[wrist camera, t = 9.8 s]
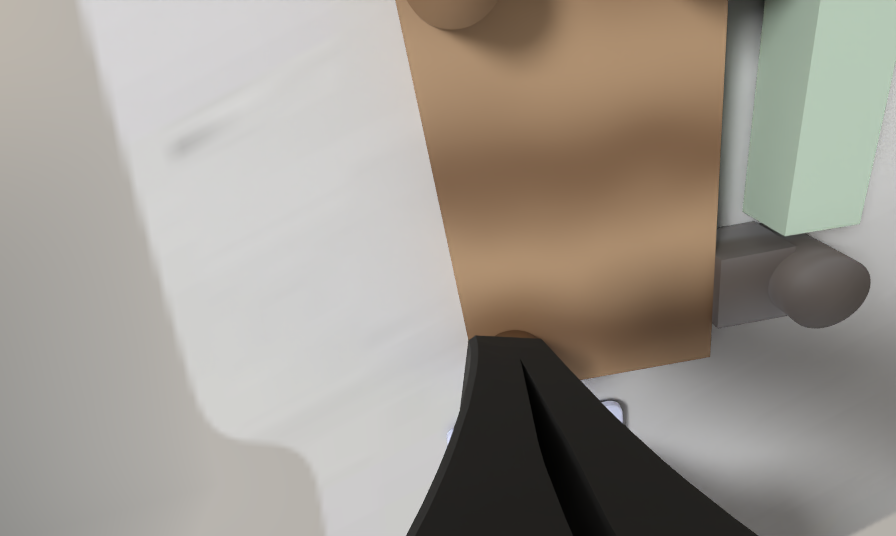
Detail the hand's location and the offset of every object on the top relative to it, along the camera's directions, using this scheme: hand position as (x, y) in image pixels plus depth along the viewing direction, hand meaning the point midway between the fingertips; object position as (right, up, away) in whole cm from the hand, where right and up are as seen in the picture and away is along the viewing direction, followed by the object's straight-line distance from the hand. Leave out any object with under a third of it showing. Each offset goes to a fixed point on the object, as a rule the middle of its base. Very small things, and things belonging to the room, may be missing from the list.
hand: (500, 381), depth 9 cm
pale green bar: (+10, +8, +7) cm, 15 cm away
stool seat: (+5, +6, +8) cm, 11 cm away
